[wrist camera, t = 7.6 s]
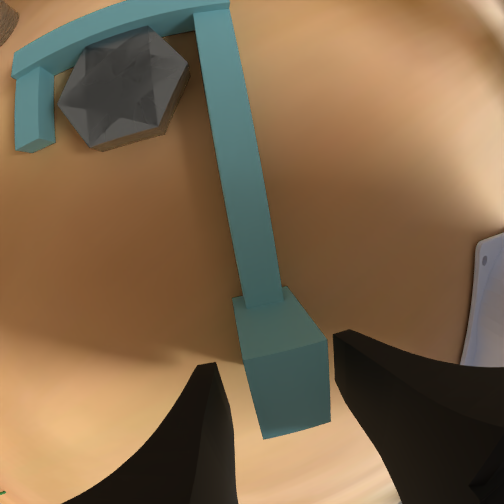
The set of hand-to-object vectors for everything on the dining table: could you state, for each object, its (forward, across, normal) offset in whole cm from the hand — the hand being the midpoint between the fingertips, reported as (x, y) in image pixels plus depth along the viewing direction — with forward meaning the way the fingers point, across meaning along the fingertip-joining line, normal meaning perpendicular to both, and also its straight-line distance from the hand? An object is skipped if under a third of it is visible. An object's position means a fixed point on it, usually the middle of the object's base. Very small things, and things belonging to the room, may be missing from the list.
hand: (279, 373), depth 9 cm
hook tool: (+2, +3, -6) cm, 7 cm away
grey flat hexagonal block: (+2, +3, -10) cm, 11 cm away
